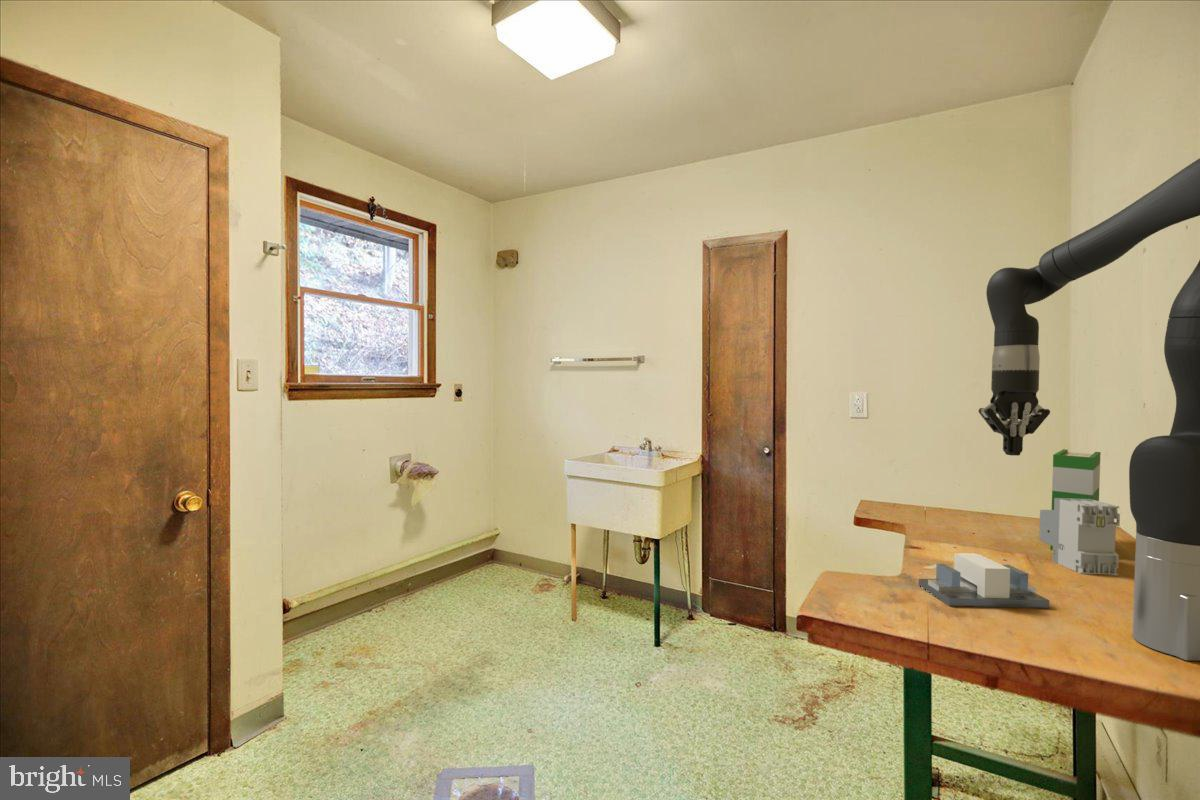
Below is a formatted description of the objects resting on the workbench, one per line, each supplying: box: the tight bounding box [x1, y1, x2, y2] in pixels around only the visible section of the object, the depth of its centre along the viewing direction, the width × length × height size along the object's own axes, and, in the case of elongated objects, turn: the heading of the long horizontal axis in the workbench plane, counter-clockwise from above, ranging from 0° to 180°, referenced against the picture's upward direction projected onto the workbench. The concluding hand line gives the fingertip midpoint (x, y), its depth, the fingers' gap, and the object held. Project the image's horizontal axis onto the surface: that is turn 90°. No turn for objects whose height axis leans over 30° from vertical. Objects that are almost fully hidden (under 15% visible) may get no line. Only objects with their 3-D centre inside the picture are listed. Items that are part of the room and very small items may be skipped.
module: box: [953, 552, 1010, 598], centre depth 103 cm, size 9×4×6 cm, turn 178°
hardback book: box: [1049, 449, 1102, 551], centre depth 136 cm, size 18×7×24 cm, turn 133°
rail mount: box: [918, 563, 1050, 609], centre depth 103 cm, size 10×18×6 cm, turn 88°
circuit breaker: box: [1038, 498, 1121, 576], centre depth 122 cm, size 8×14×15 cm, turn 174°
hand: (1012, 454), depth 107 cm, fingers closed
